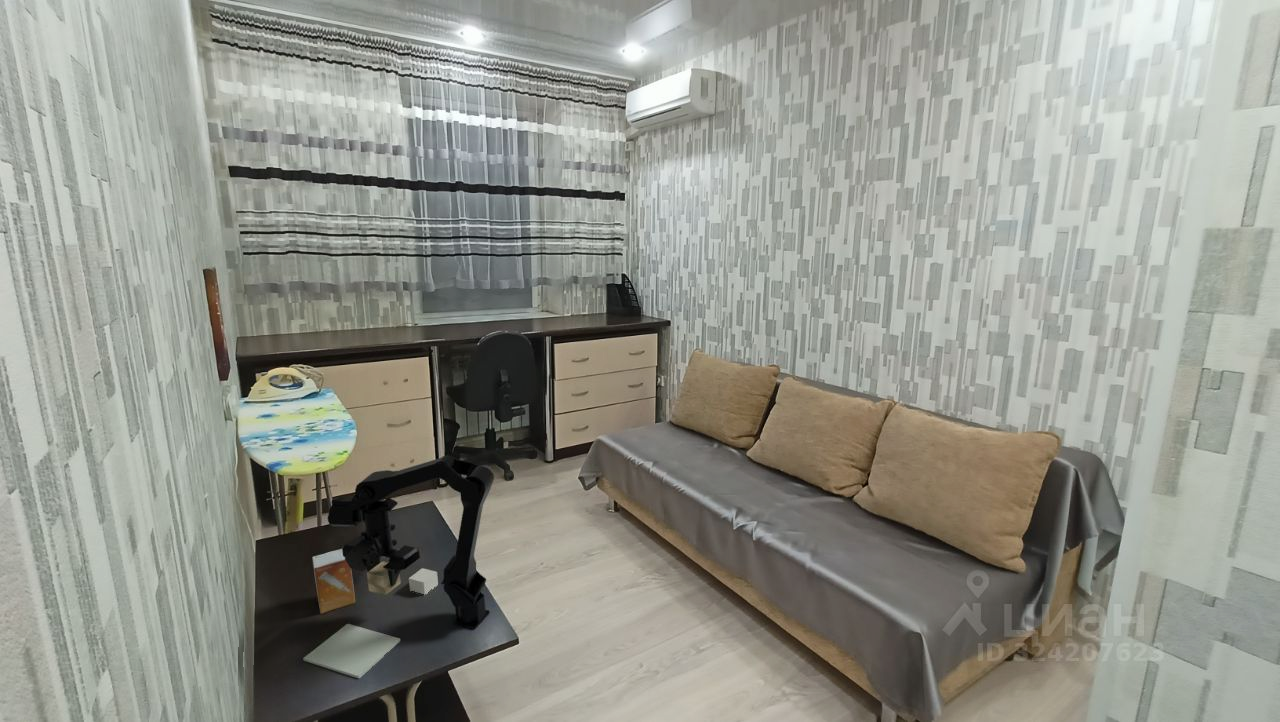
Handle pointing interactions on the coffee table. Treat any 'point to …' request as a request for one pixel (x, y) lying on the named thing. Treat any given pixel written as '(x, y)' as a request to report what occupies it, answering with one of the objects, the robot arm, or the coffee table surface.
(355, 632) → the mat
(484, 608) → the robot arm
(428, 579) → the plastic block
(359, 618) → the coffee table surface
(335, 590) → the small box
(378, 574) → the tan wooden cube
